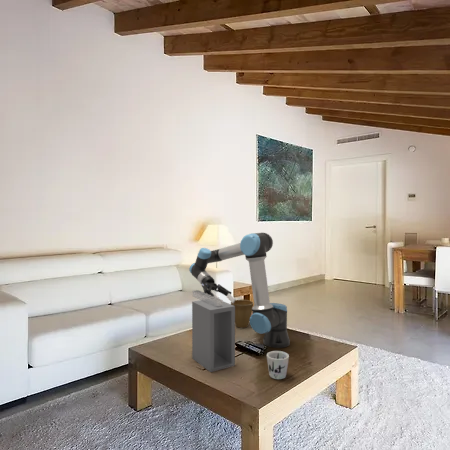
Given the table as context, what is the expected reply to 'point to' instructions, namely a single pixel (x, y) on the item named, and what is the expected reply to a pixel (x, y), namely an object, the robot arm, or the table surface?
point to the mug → (277, 364)
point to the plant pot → (242, 312)
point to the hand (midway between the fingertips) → (225, 300)
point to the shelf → (213, 335)
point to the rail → (208, 298)
